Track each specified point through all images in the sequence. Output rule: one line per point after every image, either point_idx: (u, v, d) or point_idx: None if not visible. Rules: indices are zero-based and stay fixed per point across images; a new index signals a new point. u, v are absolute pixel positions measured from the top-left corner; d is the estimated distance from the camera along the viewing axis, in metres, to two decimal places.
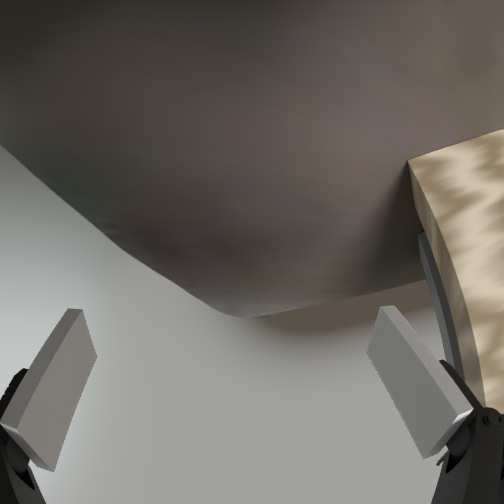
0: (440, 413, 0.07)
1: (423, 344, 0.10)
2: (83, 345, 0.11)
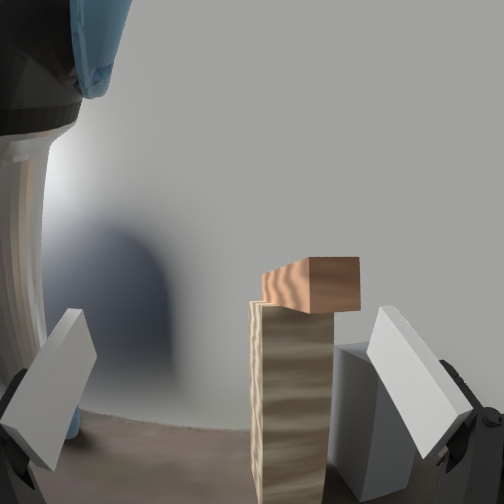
0: (440, 413, 0.07)
1: (423, 344, 0.10)
2: (83, 345, 0.11)
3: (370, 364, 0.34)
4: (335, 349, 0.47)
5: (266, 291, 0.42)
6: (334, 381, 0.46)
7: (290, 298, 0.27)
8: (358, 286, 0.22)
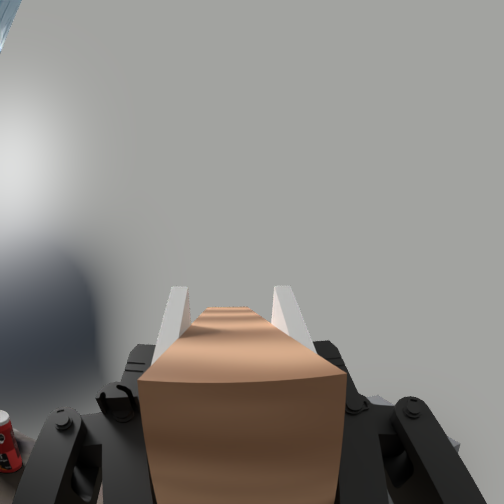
0: None
1: (304, 322, 0.12)
2: (188, 320, 0.13)
3: None
4: None
5: None
6: None
7: None
8: (333, 464, 0.05)
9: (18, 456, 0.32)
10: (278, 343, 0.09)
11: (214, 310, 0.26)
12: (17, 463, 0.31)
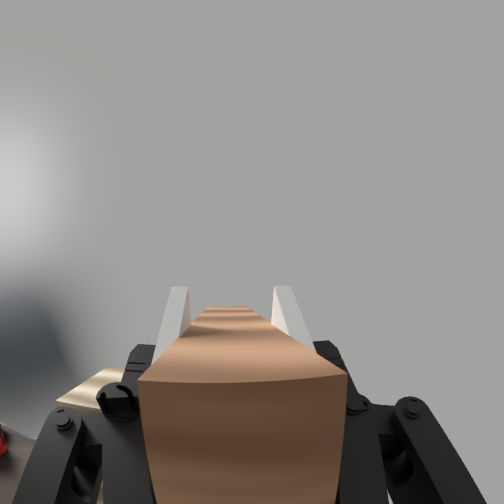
0: None
1: (304, 323, 0.12)
2: (188, 320, 0.13)
3: None
4: None
5: None
6: None
7: None
8: (334, 465, 0.05)
9: (4, 444, 0.40)
10: (278, 343, 0.09)
11: (214, 310, 0.25)
12: (3, 449, 0.39)
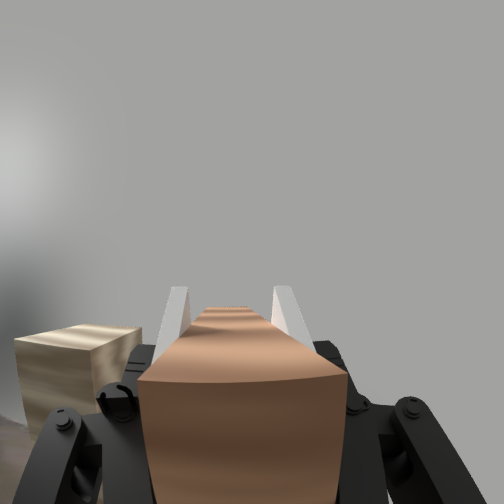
0: None
1: (303, 322, 0.12)
2: (188, 320, 0.13)
3: None
4: None
5: None
6: None
7: None
8: (334, 465, 0.05)
9: None
10: (278, 343, 0.09)
11: (214, 310, 0.25)
12: None
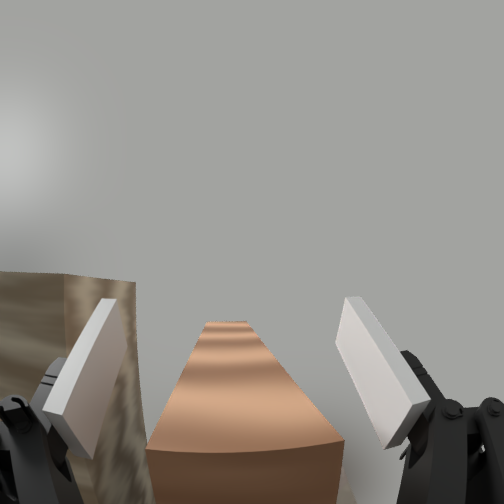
0: (397, 402, 0.08)
1: (385, 334, 0.11)
2: (117, 334, 0.12)
3: None
4: None
5: None
6: None
7: None
8: None
9: None
10: (279, 389, 0.09)
11: (213, 328, 0.25)
12: None
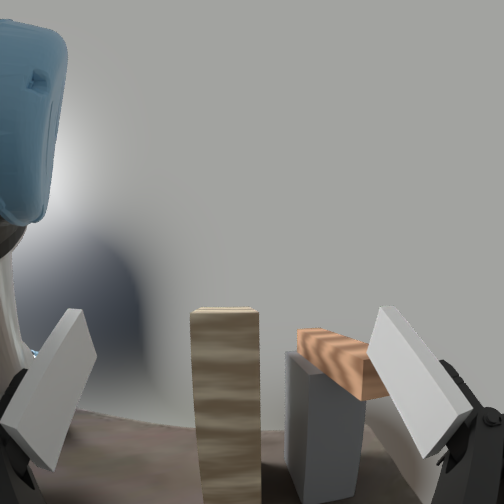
0: (440, 413, 0.07)
1: (423, 344, 0.10)
2: (83, 345, 0.11)
3: (304, 371, 0.37)
4: (286, 355, 0.49)
5: (304, 348, 0.45)
6: (286, 386, 0.48)
7: (338, 376, 0.30)
8: None
9: None
10: None
11: (310, 332, 0.45)
12: None
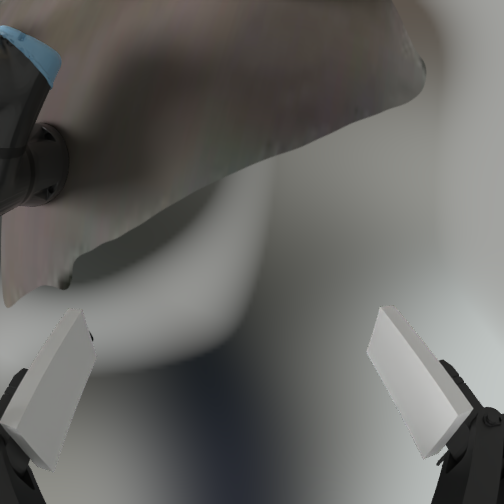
0: (440, 413, 0.07)
1: (423, 344, 0.10)
2: (83, 345, 0.11)
3: None
4: None
5: None
6: None
7: None
8: None
9: None
10: None
11: None
12: None
